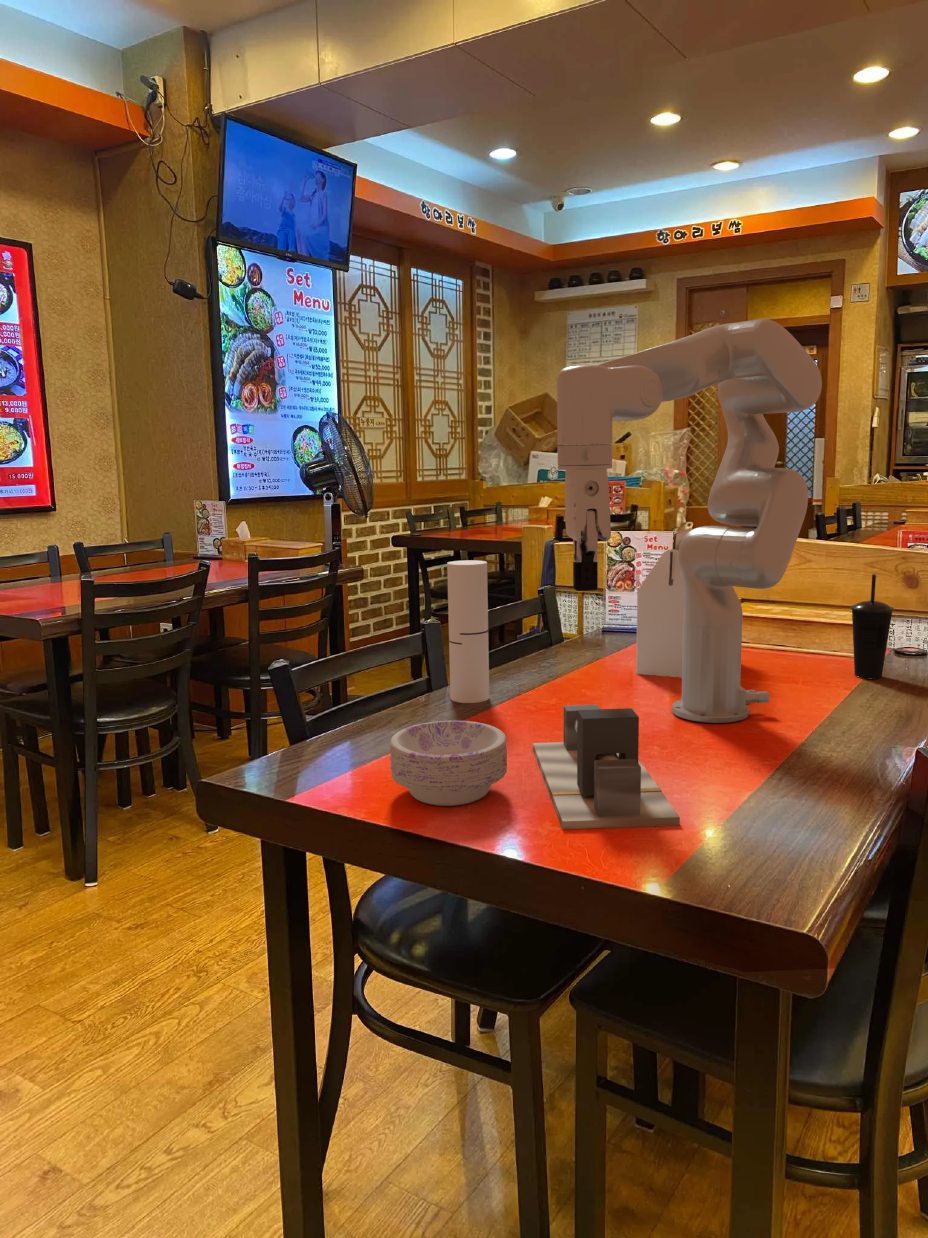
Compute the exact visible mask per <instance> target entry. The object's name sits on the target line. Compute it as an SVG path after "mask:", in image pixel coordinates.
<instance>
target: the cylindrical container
mask: <svg viewBox="0 0 928 1238" xmlns="http://www.w3.org/2000/svg"><path fill="white" fill-rule="evenodd" d="M446 566H447V567H446V568H447V569H446V570H447V573H446V574H447V604H448V605H447V606H448V608H447V612H448V650H449V651H448V652H449V657H448V659H449V686H450V687H449V689H450V691H449V693H450V694H449V695H450V697H449V698H450V700H451V701H452V702H456V703H461V704H476V703H477V704H478V703H483V702H485V701H488V700H489V699H490V670H489V669H490V667H489V665H490V663H489V662H490V660H489V656H490V655H489V650H490V649H489V599H488V594H489V593H488V562H487V561H485V560H477V559H476V560H475V559H473V560H472V559H471V560H469V559H468V560H465V559H464V560H453V561H448V562H447V564H446Z"/></svg>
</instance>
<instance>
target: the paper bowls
mask: <svg viewBox="0 0 928 1238" xmlns="http://www.w3.org/2000/svg"><path fill="white" fill-rule="evenodd" d="M507 750H508V749H507V737H506V735H505V733H504V732H503V731H502V730H500V728H497V727H495V726H493V725H491V724H488V723H487V724H486V723H482V722H478V721H470V720H438V721H437V720H435V721H430V722H428V721H427V722H423V723H418V724H413V725H410V726H406V727H405V728H403V729H402V728H401V729H400V730H399V731H397V732H396V733H395V734H393V736H392V737H391V739H390V740H389V751H390V753H389V754H390V757H389V758H390V773H391V778H392V780H393V781H394V782H395V783H396V784H397V785H400V786H401V787H405V788H407V790H408V792H409V793H410V795H411V796H412V797H413V798H414V799H415V800H417V801H419V802H422V803H424V804H427V805H433V806H440V807H451V806H452V807H453V806H462V805H466V804H471V803H473V802H476V801H478V800H480V799H483V798H484V797H485V796H486V795H487V794H488V792H490V789H491V787H492V785H493V784H496V783H498V782H499V781H500V780H502V779H503V778H504V777H505V775H506V774H507V772H508V771H507V770H508V761H507V760H508V755H507V752H508V751H507Z"/></svg>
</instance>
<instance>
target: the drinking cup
mask: <svg viewBox="0 0 928 1238" xmlns="http://www.w3.org/2000/svg"><path fill="white" fill-rule="evenodd" d="M876 578H877V574H876V573H872V574H871V586H870V587H871V589H870V600H864V601H859V602H857V603H855V604H852V605H851V606H850V610H851V618H852V620H851V621H852V642H853V643H852V646H853V665H854V667H853V669H854V676H855V675H856V676H859V677H862V678H861V679H863V678H880V679H881V678H882V677H883V671H884V666H885V658H886V653H887V646H888V640H889V634H890V633H889V632H890V628H891V621H892V615H893V612H894V611H895V607H893V606H891V605H889V604H887V603H885V602H882V601H878V600H875V599H876V598H875V597H876V584H877V583H876V582H877V579H876ZM856 676H855V677H856Z"/></svg>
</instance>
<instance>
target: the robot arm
mask: <svg viewBox="0 0 928 1238" xmlns="http://www.w3.org/2000/svg"><path fill="white" fill-rule="evenodd" d="M716 385H718V386H717V399H718V402H719V405H720V408H721V411H722V414H723V417H724V421H725V424H726V429H727V443H726V447H725V449H724V450H725V451H724V454H723V456H722V460H721V462H720V465H719V467H718V470H717V473H716V475H715V478H714V481H713V483H712V486H711V488H710V490H709V491H710V492H709V496H708V500H707V512H708V514H709V516H710V517H711V518H712V519H713V520H714V521H716V522H718V523H721V524H724V525H725V526H724V525H703V526H699V527H696V528H692V530H691V531H689V532H688V533H687V534H686V535H685V536H684V537H683V539H682V541H681V543H680V546H679V551H678V560H679V567H680V572H681V578H682V585H683V599H684V614H683V657H682V678H681V699H679V700H676V701H674V702H673V703H672V705H671V712H672V714H673V715H675V716H676V717H678V718H682V719H685V720H688V721H692V722H698V723H706V724H707V723H711V724H725V723H727V724H728V723H734V722H739V721H743V720H745V719H747V718H748V717H749V716H750V707H748V706H750V705H751V704H752V703H757V704H767V703H769V702H770V693H769V692H768V690H767V691H756V689H747V690H746V689H745V688H744V687H742V686H741V674H742V671H741V669H742V668H741V667H742V643H743V642H742V640H743V638H742V637H743V621H744V620H743V617H744V615H743V614H744V613H743V608H742V604H741V601H740V599H739V596H738V594H737V592H736V591H735V588H734V587H738V588H748V589H757V590H760V589H761V590H764V589H770V588H772V587H774V586H776V585H778V584H779V582H780V581H781V580H782V579H783V577H784V575H785V573H786V571H787V568H788V566H789V564H790V561H791V558H792V555H793V552H794V550H795V546H796V543H797V541H798V538H799V534H800V531H801V529H802V526H803V523H804V520H805V519H806V518H805V517H806V514H807V509H808V503H809V492H808V485H807V482H806V479H804V477H803V475H801V473H800V472H798V471H796V470H794V469H793V468H786V467H775V466H776V464H777V460H778V457H779V453H780V446H779V442H778V439H777V436H776V435H775V433H774V431H773V429H772V428H771V426H770V425H769V424H768V422H767V420H766V418H765V416H764V414H765V415H766V414H782V413H783V414H785V413H798V412H804V411H806V410H809V409H810V408H812V407H813V406H814V405H815V404H816V403H817V402H818V400H819V398H820V395H821V393H822V386H823V381H822V374H821V371H820V369H819V366H818V365H817V363H816V361H815V360H814V359H813V357H812V356H811V355H810V353H808V351H806V349H805V348H804V347H803V346H802V345H801V343H800V342H799V341H798V340H797V339H796V338H795V337H794V336H793V334H792V333H790V331H788V330H787V329H786V328H785V327H783V326H782V325H781V324H780V323H778V322H776V321H774V320H771V319H770V318H769V319H768V318H760V319H754V320H753V319H752V320H745V321H737V322H730V323H724V324H718V325H714V326H711V327H708V328H705V329H703V330H700V331H698V332H695V333H693V334H690V335H688V336H685V337H681V338H679V339H676V340H673V341H671V342H670V341H669V342H668V343H663V344H661V345H657V346H653V347H650V348H648V349H644V350H642V351H638V352H635V353H632V354H628V355H624V356H621V357H617V358H615V359H611V360H607V361H605V362H602V363H599V364H596V365H593V364H591V365H588V364H587V365H586V364H585V365H575V366H574V365H573V366H568V367H564V368H562V369H561V370H560V371H559V373H558V374H557V379H556V407H557V408H556V409H557V410H556V414H557V415H556V417H557V420H556V421H557V425H556V426H557V431H556V432H557V433H556V434H557V435H556V436H557V471H565V476H564V478H565V481H564V485H565V486H564V487H565V488H564V489H565V491H564V494H565V495H564V513H565V516H564V519H565V532H566V535H567V537H569V538H570V539H572V541H573V544H572V546H573V549H572V550H573V562H572V568H573V569H572V570H573V571H572V573H573V574H572V585H573V586H572V587H573V589H574V590H575V591H577V592H586V591H589V592H590V591H592V592H593V591H597V590H598V585H599V584H598V581H599V577H598V575H599V574H598V573H599V571H598V567H599V565H598V547H599V545H598V542H599V541H598V540H599V539H600V540H601V541H603V542H609V540H610V539H611V537H612V536H611V533H612V532H611V531H612V529H611V528H612V525H611V502H610V487H609V475H608V469H613V422H629V421H630V422H632V421H640V420H643V419H646V418H648V417H650V416H651V415H653V414H654V413H656V411H657V410H658V409H659V408H660V405H661V404H662V403H664V402H671V401H674V400H680V399H684V398H689V397H691V396H693V395H696V394H697V393H700V392H702V391H704V390H706V389H707V390H708V389H709V388H711V387H713V386H716ZM726 525H728V526H726ZM738 526H740V527H738ZM755 527H756V528H755Z"/></svg>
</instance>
